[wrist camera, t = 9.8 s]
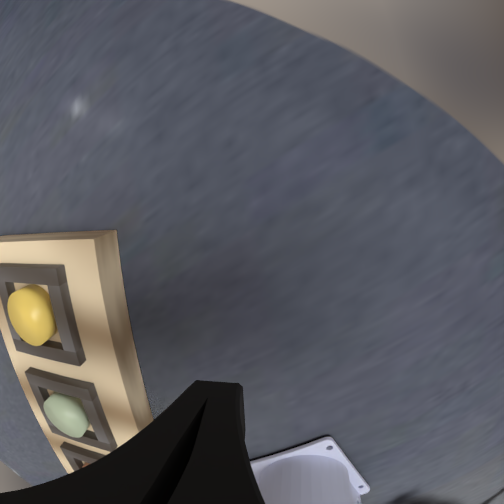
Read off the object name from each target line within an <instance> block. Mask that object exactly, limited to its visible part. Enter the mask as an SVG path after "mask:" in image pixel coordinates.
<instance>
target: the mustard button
mask: <svg viewBox="0 0 504 504" xmlns="http://www.w3.org/2000/svg"><path fill="white" fill-rule="evenodd" d="M7 308H8V315H9V318H10V321H11V323H12V325H13V327H14V329H15V331H16V332H17V333H18V335H19V336H20V337H21V338H22V339H23V340H24V341H26V342H27V343H29V344H31V345H33V346H40V345H42V344H43V343H45V342H46V341H47V340H48V339H50V338H51V337H52V336H53V335H55V334H56V333H57V331H58V329H57V325H56V321H55V317H54V313H53V309H52V305H51V301H50V296H49V294H48V293H47V292H46V291H45V290H44V289H43V288H41V287H40V286H38V285H35V284H29V285H27V286H25V287H23V288H21V289H19V290H17V291H15V292H14V293H12V294H11V295H10V297H9V299H8V304H7Z"/></svg>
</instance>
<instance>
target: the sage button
mask: <svg viewBox="0 0 504 504" xmlns="http://www.w3.org/2000/svg"><path fill="white" fill-rule="evenodd" d="M44 411H45V413H46V415H47V417H48V418H49V420H50V421H51V422H52V423H53V425H54V426H56V427H57V428H58V429H59V430H60V431H62V432H63V433H65V434H67V435H69V436H71V437H75V438H79V437H82V436H83V434H84V433H85V432H86V430H87V429H88V427H89V426H90V425H91V423H90V421H89V419H88V416H87V414H86V411H85V409H84V406H83V404H82V401H81V400H80V399H79V398H76V397H73V396H69V395H65V394H62V393H59V392H55V391H54V392H53V394H52V395H51V396H50V397H49V398H48V399H47V400H46V401H45V402H44Z"/></svg>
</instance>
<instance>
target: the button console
mask: <svg viewBox="0 0 504 504" xmlns="http://www.w3.org/2000/svg"><path fill="white" fill-rule="evenodd" d="M29 284H35V285H38V286H40V287H41V288H43V289H44V290H45V291H46V292H47V293H48V294H49V296H50V301H51V305H52V309H53V313H54V317H55V321H56V325H57V329H58V331H57V333H56V334H55V335H53V336H52V337H51V338H50V339H48V340H47V341H46V342H45V343H43V344H42V345H40V346H33V345H31V344H29V343H27V342H26V341H24V340H23V339H22V338H21V337H20V336H19V335H18V333H17V332H16V331H15V329H14V327H13V325H12V323H11V321H10V318H9V315H8V308H7V304H8V299H9V297H10V295H11V294H12V293H14V292H15V291H17V290H19V289H21V288H23V287H25V286H27V285H29ZM0 329H1V332H2V335H3V338H4V341H5V344H6V347H7V350H8V353H9V355H10V358H11V361H12V363H13V366H14V369H15V371H16V374H17V376H18V378H19V381H20V383H21V386H22V388H23V390H24V393H25V395H26V397H27V399H28V401H29V403H30V406H31V408H32V410H33V412H34V414H35V416H36V418H37V420H38V422H39V424H40V426H41V428H42V430H43V431H44V433H45V435H46V437H47V439H48V441H49V442H50V444H51V446H52V448H53V449H54V451H55V453H56V455H57V456H58V458H59V460H60V461H61V463H62V464H63V466H64V468H65V469H66V471H67V472H68V474H70V473H72V472H74V471H76V470H79V469H81V468H82V467H83V465H84V464H85V462H87V463H90V464H91V463H93V462H95V461H97V460H99V459H100V458H102V457H104V456H105V455H107V454H109V453H110V452H112V451H114V450H115V449H117V448H118V447H120V446H121V445H122V444H124V443H125V442H127V441H128V440H129V439H131V438H132V437H133V436H135V435H136V434H137V433H139V432H140V431H141V430H142V429H144V428H145V427H146V426H147V425H149V424H150V423H151V422H152V421H153V417H152V413H151V410H150V406H149V402H148V399H147V395H146V391H145V387H144V383H143V379H142V375H141V371H140V367H139V362H138V358H137V354H136V349H135V344H134V340H133V335H132V330H131V325H130V319H129V314H128V308H127V303H126V297H125V290H124V284H123V277H122V271H121V263H120V256H119V248H118V239H117V230H101V231H78V232H57V233H38V234H21V235H5V236H0ZM54 391H55V392H59V393H62V394H65V395H69V396H73V397H76V398H79V399H80V400H81V401H82V404H83V406H84V409H85V411H86V414H87V416H88V419H89V421H90V423H91V425H90V426H89V427H88V429H87V430H86V432H85V433H84V434H83V436H82V437H79V438H75V437H71V436H69V435H67V434H65V433H63V432H62V431H60V430H59V429H58V428H57V427H56V426H54V425H53V423H52V422H51V421H50V420H49V418H48V417H47V415H46V413H45V411H44V402H45V401H46V400H47V399H48V398H49V397H50V396H51V395H52V394H53V392H54Z"/></svg>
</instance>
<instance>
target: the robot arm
mask: <svg viewBox="0 0 504 504" xmlns="http://www.w3.org/2000/svg"><path fill="white" fill-rule="evenodd" d="M244 440H245V416H244V400H243V387H242V386H241V385H240V384H239V383H227V382H212V381H200V380H196V381H195V382H194V383H193V384H192V385H191V386H189V387H188V388H187V389H186V390H185V391H184V392H183V393H182V394H181V395H180V396H179V397H178V398H177V399H176V400H175V401H174V402H173V403H172V404H171V405H170V406H169V407H168V408H167V409H166V410H165V411H163V412H162V413H161V414H160V415H159V416H158V417H157V418H156V419H154V420H153V421H152V422H151V423H150V424H149V425H147V426H146V427H145V428H144V429H142V430H141V431H140V432H139V433H137V434H136V435H135V436H133V437H132V438H131V439H129V440H128V441H127V442H125V443H124V444H122V445H121V446H120V447H118V448H117V449H115V450H114V451H112V452H110V453H109V454H107V455H105V456H104V457H102V458H100V459H99V460H97V461H95V462H93V463H91V464H89V465H87V466H85V467H83V468H81V469H79V470H76V471H74V472H72V473H70V474H67V475H65V476H63V477H60V478H58V479H55V480H52V481H49V482H46V483H43V484H40V485H36V486H33V487H29V488H25V489H21V490H17V491H11V492H5V493H0V504H361V498H360V495H362V494H365V493H367V492H369V491H370V487H369V485H368V484H367V483H366V481H365V480H364V479H363V477H362V476H361V475H360V474H359V472H358V471H357V470H356V468H355V467H354V466H353V464H352V463H351V462H350V461H349V459H348V458H347V457H346V455H345V454H344V453H343V451H342V450H341V449H340V447H339V446H338V445H337V443H336V442H335V441H334V439H333V438H332V437H324V438H321V439H318V440H316V441H313V442H310V443H307V444H305V445H302V446H299V447H296V448H293V449H290V450H287V451H284V452H281V453H277V454H274V455H271V456H268V457H264V458H261V459H257V460H254V461H250V460H249V457H248V453H247V449H246V445H245V441H244Z"/></svg>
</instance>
